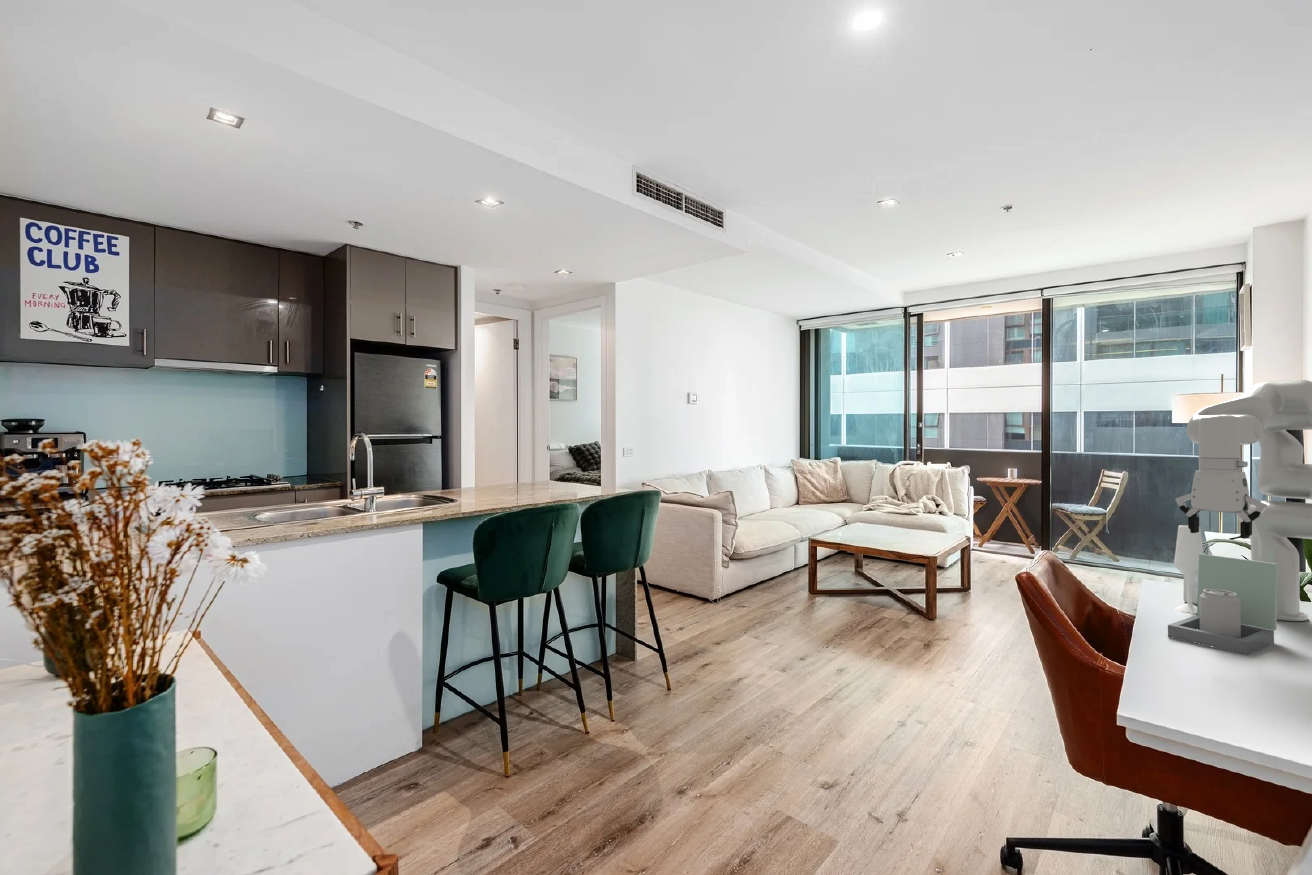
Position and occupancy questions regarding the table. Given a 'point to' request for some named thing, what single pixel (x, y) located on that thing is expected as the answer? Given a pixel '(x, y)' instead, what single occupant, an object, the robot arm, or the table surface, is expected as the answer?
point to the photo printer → (1194, 589)
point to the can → (1220, 612)
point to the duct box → (1222, 636)
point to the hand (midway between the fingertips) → (1219, 535)
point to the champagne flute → (1188, 560)
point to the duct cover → (1243, 586)
